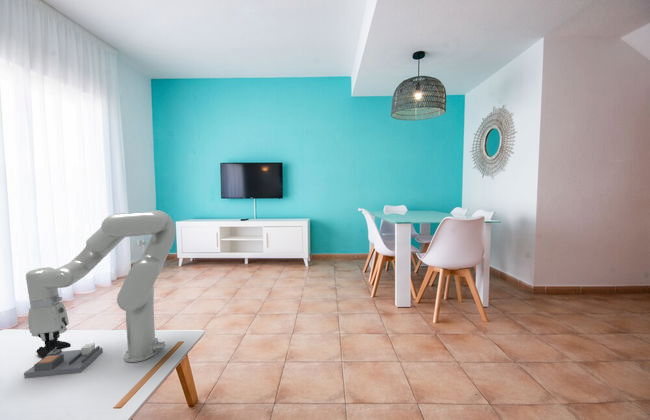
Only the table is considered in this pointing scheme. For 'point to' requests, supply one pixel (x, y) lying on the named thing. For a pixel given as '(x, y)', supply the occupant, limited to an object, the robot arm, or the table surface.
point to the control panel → (63, 363)
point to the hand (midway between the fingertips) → (52, 348)
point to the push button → (49, 359)
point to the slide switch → (87, 348)
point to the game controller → (43, 352)
